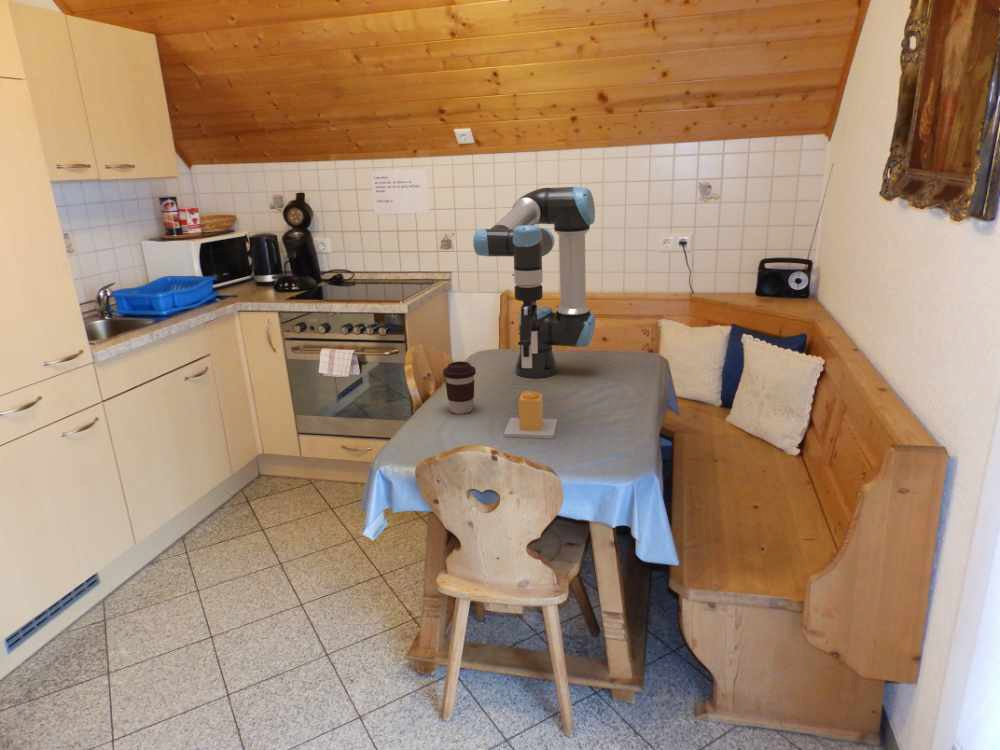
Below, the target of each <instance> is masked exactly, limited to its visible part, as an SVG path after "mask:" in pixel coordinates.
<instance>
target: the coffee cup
mask: <svg viewBox="0 0 1000 750" xmlns="http://www.w3.org/2000/svg"><path fill="white" fill-rule="evenodd" d="M476 370H477V369H476V367H475V366H473V365H472V364H471V363H470V362H467V361H452V362H450V363H448V365H447V366H446V367H445V368H443V370H442V375H443V377H445V389H446V394H447V395H446V397H447V400H448V405H449V406H448V407H449V411H450V412H451V413H453V414H456V415H457V414H458V415H464V413H465V414H468V412H469V413H471V412H472V411H473V410H474V398H475V379H474V378H475V375H476V373H477V372H476Z"/></svg>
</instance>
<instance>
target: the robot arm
mask: <svg viewBox="0 0 1000 750" xmlns="http://www.w3.org/2000/svg"><path fill="white" fill-rule="evenodd" d="M595 207H596V206H595V201H594V196H593V194H592V192H591V190H590V189H589V188H587V187H583V186H581V187H580V186H563V187H562V186H561V187H542V188H537V189H535V190H532V191H530V192H528V193H526V194H524V195H522V196H521V197H519V198H518V199H517V200H516V201H515V202H514V203H513V205H512V207H511V209H510V210H509V211H508V212H507V213H506V214H505V215H504V216H503V217H501V218H500V219H499V220H498V222H496V223H495V224H494V225H493V226H492V227H491V228H482V229H477V230H476V231H475V232H474V235H473V241H472V242H473V250H474V252H475V254H476V255H477V256H479V257H480V256H481V257H482V256H483V257H487V258H488V257H513V270H514V271H513V272H512V273H511V276H513V277H514V284H515V286H514V299H515V300H516V301H519V302H520V301H521V302H523V304H522V305H521V307H520V314H519V319H518V320H519V322H518V323H519V324H518V327H519V328H518V329H519V341H518V346H519V354H518V356H517V360H516V362H515V363H516V364H515V374H516V375H518V376H520V377H524V378H529V379H541V378H548V377H551V376H554V375H556V374H557V373H558V364H557V360H556V359H555V356H554V355H555V354H554V353H553V352H554V351H553V346H554V347H555V346H557V347H573V348H586V347H588V346H590V344H591V343H592V340H593V337H594V333H595V327H596V315H595V314H594V313H591V307H590V306H589V305H588V304H587V303H586V301H587V300H586V299H587V298H586V297H587V296H586V295H587V293H586V291H587V290H586V289H587V288H586V287H587V286H586V234H587V233H588V232H589V231H590V226H591V225H593V224H594V223H595V221H596V208H595ZM539 225H554V226H553V230H554V232H555V233H556V234H557V235H558V238H559V239H558V243H559V244H558V246H559V247H558V250H559V252H558V253H559V285H560V290H559V291H560V304H559V305H558V307H557V308H556V312H553V309H552V307H550V306H549V307H548V306H538V305H537V302H538V301H541V300H542V299H543V285H542V284H543V281H544V280H543V257H545V256H546V255H548V254H549V253H550V252H551V251H552V250H553V248H554V246H555V237H554V235H553V233H552V232H551V231H550V230H549V229H547V228H544V227H540V226H539Z"/></svg>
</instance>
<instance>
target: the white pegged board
mask: <svg viewBox="0 0 1000 750" xmlns="http://www.w3.org/2000/svg"><path fill="white" fill-rule="evenodd" d="M557 426H558V419H557V418H543V424H542V427H541V431H537V430H520V428H519V417H509V419H508V421H507V425H506V427H505V429H504V432H503V438H525V439H548V440H549V439H550V440H551V439H554V438H555V434H556V431H557Z"/></svg>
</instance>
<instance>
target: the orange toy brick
mask: <svg viewBox="0 0 1000 750" xmlns="http://www.w3.org/2000/svg"><path fill="white" fill-rule="evenodd" d="M543 402H544V401H543V393H540V392H538V391H537V390H532V389H528V390H525V391H522V392H521V394H520V396H519V399H518V418H519V428H520V430H537V431H541V427H542V424H543V419H544V418H543V417H544V413H543V410H544V409H543V405H544V404H543Z"/></svg>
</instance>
